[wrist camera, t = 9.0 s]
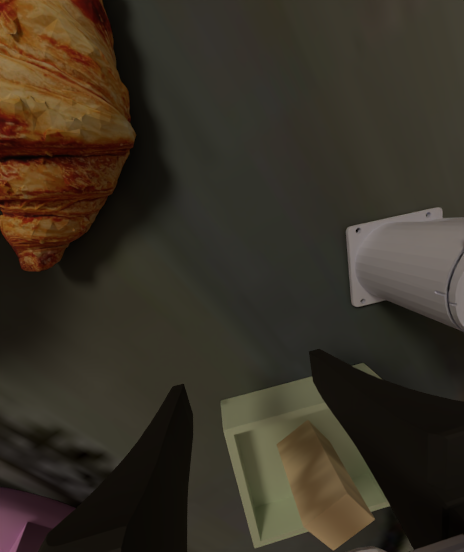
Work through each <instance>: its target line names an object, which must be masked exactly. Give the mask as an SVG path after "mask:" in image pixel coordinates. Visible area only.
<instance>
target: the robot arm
mask: <svg viewBox="0 0 464 552" xmlns="http://www.w3.org/2000/svg"><path fill="white" fill-rule="evenodd" d="M426 214H427V216H426ZM357 228H358V232H357V233H356V229H357ZM346 241H347V254H348V267H349V280H350V293H351V303H352V305H353V306H355V307H360V306H364V305H368V304H372V303H376V302H381V301H385V300H387V301H390V302H392V303H394V304H397V305H399V306H402V307H404V308H407V309H409V310H411V311H414V312H416V313H419V314H421V315H424V316H426V317H428V318H431V319H433V320H436V321H438V322H441V323H443V324H445V325H448V326H450V327H453V328H455V329H458V330H460V331H462V332H464V217H462V218H442V209H441V208H431V209H427V210H422V211H418V212H413V213H409V214H404V215H399V216H395V217H390V218H386V219H381V220H377V221H372V222H368V223H363V224H358V225H354V226H350V227H348V228H347V230H346ZM362 299H363V301H362V302H361V300H362ZM309 355H310V363H311V370H312V378H313V383H314V385H315V386H316V388H317V390H318V392H319V394H320V395H321V397H322V399H323V400H324V402H325V403H326V405H327V406H328V408H329V409H330V410H331V412H332V413H333V415H334V416H335V417H336V419H337V420H338V421H339V423H340V424H341V426H342V427H343V428H344V430H345V431H346V433H347V434H348V435H349V437H350V438H351V440H352V441H353V443H354V444H355V446H356V447H357V449H358V451H359V452H360V454H361V456H362V457H363V459H364V461H365V462H366V464H367V466H368V467H369V469H370V471H371V473H372V474H373V476H374V478H375V480H376V481H377V483H378V485H379V486H380V488H381V490H382V492H383V493H384V495H385V497H386V499H387V501H388V503H389V504H390V506H391V508H392V510H393V512H394V513H395V515H396V517H397V519H398V521H399V522H400V524H401V526H402V528H403V530H404V532H405V534H406V536H407V537H408V539H409V541H410V543H411V545H412V547H413V549H414V550H412V551H409V552H464V402H462V401H456V400H451V399H447V398H442V397H438V396H434V395H430V394H426V393H422V392H418V391H415V390H412V389H408V388H405V387H402V386H399V385H396V384H393V383H390V382H388V381H385V380H382V379H380V378H377V377H375V376H372V375H370V374H368V373H366V372H363V371H361V370H359V369H357V368H355V367H353V366H351V365H349V364H347V363H345V362H343V361H341V360H339V359H337V358H335V357H334V356H332V355H330V354H328V353H326V352H324V351H322V350H320V349H317V350H313V351H309ZM192 441H193V413H192V410H191V406H190V403H189V400H188V396H187V393H186V390H185V386H184V384H181V385H177V386H173V387H172V388H171V390H170V392H169V393H168V395H167V397H166V399H165V400H164V402H163V404H162V405H161V407H160V409H159V410H158V412H157V414H156V415H155V417H154V418H153V420H152V421H151V423H150V425H149V426H148V427H147V429H146V430H145V432H144V433H143V435H142V436H141V438H140V439H139V440H138V442H137V443H136V444H135V446H134V447H133V448H132V449H131V451H130V452H129V453H128V454H127V456H126V457H125V458H124V459H123V460H122V461H121V463H120V464H119V465H118V466H117V467H116V468H115V469H114V470H113V472H112V473H111V474H110V475H109V476H108V477H107V478H106V479H105V480H104V481H103V482H102V483H101V484H100V485H99V486H98V488H97V489H96V490H95V491H94V492H93V493H91V494H90V495H89V496H88V497H87V498H86V499H85V500H84V501H83V502H82V503H81V504H80V505H79V506H78V507H77V508H76V509H75V510H73V511H72V512H71V513H70V514H69V515H68V516H67V517H66V518H64V519H63V520H62V521H61V522H60V523H59V524H58V525H57V526H55V527H54V528H53V529H52V530H51V531H50V532H48V534H47V535H46V537H45V539H44V541H43V543H42V545H41V547H40V548H39V550H38V552H187V497H188V482H189V472H190V462H191V452H192ZM347 552H386V551H384V550H382V549H379V548H376V547H374V546H369V547H362V548H356V549H353V550H350V551H347Z"/></svg>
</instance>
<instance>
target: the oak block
mask: <svg viewBox="0 0 464 552" xmlns="http://www.w3.org/2000/svg"><path fill="white" fill-rule="evenodd" d="M276 445H277V448H278V451H279V454H280V457H281V460H282V463H283V466H284V469H285V472H286V475H287V478H288V481H289V484H290V487H291V490H292V493H293V496H294V500H295V503H296V506H297V509H298V512H299V515H300V518H301V521H302V524H303V527H304V528H306V529H307V530H308V531H309V532H311V533H312V534H313V535H314V536H316V537H317V538H318V539H319V540H321V541H322V542H323V543H324V544H326V545H327V546H328V547H329V548H331V549H332V550H333V551H334V550H335V549H336V548H338V547H339V546H340V545H342V544H343V543H344V542H346V541H347V540H348V539H350V538H351V537H352V536H354V535H355V534H356V533H358V532H359V531H360V530H362V529H363V528H364V527H366V526H367V525H368V524H370V523H371V522H372V521H374V520H375V519H374V517H373V515H372V513H371V512H370V510H369V508H368V507H367V505H366V503H365V501H364V500H363V498H362V496H361V494H360V493H359V491H358V489H357V488H356V486H355V484H354V482H353V481H352V479H351V477H350V475H349V474H348V472H347V470H346V469H345V467H344V465H343V463H342V462H341V460H340V458H339V456H338V455H337V453H336V451H335V450H334V448H333V446H332V444H331V443H330V441H329V440H328V439H327V438H326V437H325V436H324V435H323V434H322V433H321V432H320V431H319V430H318V429H317V428H316V427H315V426H314V425H313V424H312V423H311V422H310V421H309V420H307V421H305V422H304V423H303V424H302V425H300V426H299V427H298V428H297V429H295V430H294V431H293V432H291V433H290V434H289V435H288V436H286V437H285V438H284V439H283V440H281V441H280V442H279V443H278V444H276Z"/></svg>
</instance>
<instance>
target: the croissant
mask: <svg viewBox="0 0 464 552" xmlns="http://www.w3.org/2000/svg"><path fill="white" fill-rule="evenodd" d="M113 43H114V40H113V35H112V30H111V25H110V22H109V20H108V17H107V14H106V11H105V9H104V7H103V2H102V0H0V210H1V211H2V213H3V215H1V216H0V229H1V232H2V234H3V236H4V238H5V239H6V240H7V241H8V243H9V244H10V245H11V247H12V249H13V250H14V251H15V253H16V254H17V256H18V258H19V262H20V266H21V269H23V270H25V271H38V272H40V271H43V270H47V269H49V268H51V267H53V266H54V264H56V263H57V262H59V261H60V260H61V258H62V256H63V254H64V251H65V249H66V248H67V247H68V246H69V243H70V242H72V241H74V240H76V239H78V238H79V237H81V236H82V235H83V234H84V233H86V232H87V231H88V230H89V229H90V227H91V224H92V223H93V222H94V221H95V218H96V216H97V215H98V213H99V211H100V209H101V208H102V207H103V205H104V204H105V202H106V200H107V197H108V196H109V195H111V194H112V193H113V191H114V189H115V187H116V185H117V180H118V177H119V175H120V173H121V170H122V167H123V165H124V163H125V161H126V159H127V158H128V156H129V154H130V151H129V150H130V149H131V148H133V145H134V141H135V137H136V134H135V131H134V129H133V128H132V126H131V124H130V121H131V116H130V114H129V110H130V104H129V92H128V90H127V88H126V86H125V85H124V84H123V83H122V82H121V80H120V77H119V73H118V71H117V69H116V57H115V53H114V50H113Z"/></svg>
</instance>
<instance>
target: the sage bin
mask: <svg viewBox="0 0 464 552" xmlns="http://www.w3.org/2000/svg"><path fill="white" fill-rule="evenodd" d="M353 367H355V368H357V369H359V370H361V371H363V372H366V373H368V374H370V375H372V376H375V377H377V378H380V377H379V376H378V375H377V374H376V373H374V372H373V371H372V370H371V369H370V368H369V367H368V366H366V365H365V364H364V363H361V364H357V365H353ZM380 379H381V378H380ZM382 380H383V379H382ZM221 411H222V422H223V431H224V435H225V439H226V443H227V446H228V450H229V454H230V458H231V462H232V465H233V469H234V473H235V477H236V480H237V484H238V488H239V492H240V495H241V499H242V503H243V507H244V511H245V514H246V518H247V522H248V526H249V529H250V533H251V537H252V541H253V544H254V548H257V547H261V546H264V545H267V544H270V543H273V542H276V541H280V540H283V539H286V538H289V537H292V536H295V535H299V534H302V533H305V532H308V530H307V529H306V528H304V527H303V524H302V521H301V518H300V515H299V512H298V509H297V506H296V503H295V500H294V496H293V493H292V490H291V487H290V484H289V481H288V478H287V475H286V472H285V469H284V466H283V463H282V460H281V457H280V454H279V451H278V448H277V445H276V444H278V443H279V442H280V441H281V440H283V439H284V438H285V437H286V436H288V435H289V434H290V433H291V432H293V431H294V430H295V429H297V428H298V427H299V426H300V425H302V424H303V423H304V422H305V421H307V420H309V421H310V422H311V423H312V424H313V425H314V426H315V427H316V428H317V429H318V430H319V431H320V432H321V433H322V434H323V435H324V436H325V437H326V438H327V439H328V440H329V441H330V443H331V444H332V446H333V448H334V450H335V451H336V453H337V455H338V456H339V458H340V460H341V462H342V463H343V465H344V467H345V469H346V470H347V472H348V474H349V475H350V477H351V479H352V481H353V482H354V484H355V486H356V488H357V489H358V491H359V493H360V494H361V496H362V498H363V500H364V501H365V503H366V505H367V507H368V508H369V510H370V512H372V511H375V510H378V509H381V508H384V507H388V506H390V504H389V503H388V501H387V499H386V497H385V495H384V493H383V492H382V490H381V488H380V486H379V485H378V483H377V481H376V480H375V478H374V476H373V474H372V473H371V471H370V469H369V467H368V466H367V464H366V462H365V461H364V459H363V457H362V456H361V454H360V452H359V451H358V449H357V447H356V446H355V444H354V443H353V441H352V440H351V438H350V437H349V435H348V434H347V433H346V431H345V430H344V428H343V427H342V426H341V424H340V423H339V421H338V420H337V419H336V417H335V416H334V415H333V413H332V412H331V410H330V409H329V408H328V406H327V405H326V403H325V402H324V400H323V399H322V397H321V395H320V394H319V392H318V390H317V388H316V386H315V385H314V383H313V378H312V377H308V378H304V379H301V380H297V381H293V382H289V383H285V384H282V385H278V386H274V387H270V388H267V389H263V390H259V391H255V392H252V393H248V394H244V395H240V396H236V397H233V398H229V399H225V400H221Z"/></svg>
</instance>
